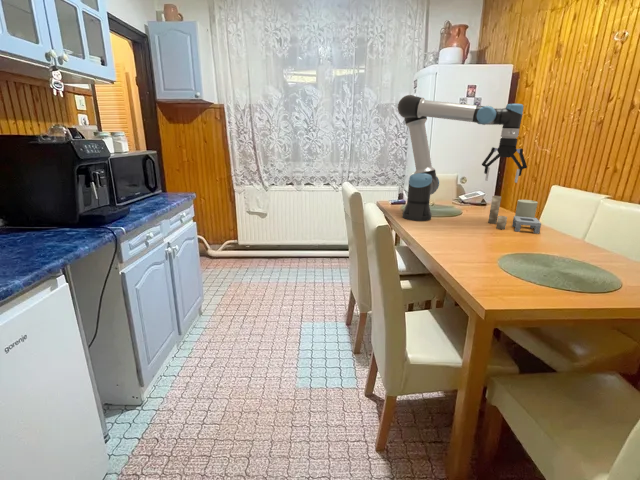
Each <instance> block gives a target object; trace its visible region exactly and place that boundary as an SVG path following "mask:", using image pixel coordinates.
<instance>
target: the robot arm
mask: <svg viewBox="0 0 640 480" xmlns="http://www.w3.org/2000/svg"><path fill="white" fill-rule="evenodd" d="M397 103H398V104H397V111H398V114H399V116H401V117H402V118H404V124H405V126H406V127H408V131H409V135H410V143H411V149H412V153H413V160H414V165H415V172H414V173H413V174H411V175H410V176H409V178H408V189H407V198H406V199H407V200H406V204H405V207H404V209H403V211H402V218H403V219H405V220H409V221H417V222H424V221H430V220H431V219H432V212H431V207H430V206H431V205H430V202H431V201H430V200H431V196H432V195H433V194H435V193H436V192H437V190H438V189H439V186H440V180H439V177H438V176H437V172H436V169H435V168H434V167H433V165H432V161H431V159H432V158H431V154H430V149H429V148H430V146H429V141H428V136H427V129H426V122H427V120H428V118H435V119H443V120H452V121H459V122H460V121H462V122H468V123H476V124H478V125H482V126H485V125H487V126H488V125H489V126H490V125H492V126H493V125H494V126H495V125H496V126H497V125H498V126H500V125H501V126H502V128H501V133H500V134H501V135H500V139H499V143H498V147H494V146H492V147H491V149H490V151H489V153H488V155H487V156H486V157H485V159H484V160H483V162H482V163H481V166H483V167H484V172H483V173H484V174H485V181H488V180H489V173H490V169H491V168H490V166H491V165H492V164H493V163H494V162H496V161H497V160H498V159H500V157H501V158H511V159H512V160H513V162H514V163H515V165H516V167H517V168H516V173H515V178H514V183H516V184H518V180H519V177H521V176H522V172H523V170H524V169H528V165H527V162H526V159H525V156H524V149H523V148H517V145H518V137H519V132H520V129H521V124H522V120H523V119H522V118H523V112H524V104H522V103H508V104H506V106H505V107H504V108H494V107H493V106H491V105H490V106H489V105H476V104H466V103H456V102H448V101H447V102H446V101H438V100H437V101H436V100H430V99H429V100H426V99H425V98H424V97H420V96H416V95H413V94H408V95H404V96H403V97H401V99H400V100H399V102H397ZM496 152H497V154H496V155H495V156H494V157H493V158H491V157H492V156H493V154H494V153H496ZM516 152H517V154H518V156H519V158H520V162H521V163H520V162H519V160H518V159H517V157H516V155H515V154H516ZM490 158H491V160H490ZM489 160H490V161H489Z"/></svg>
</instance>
